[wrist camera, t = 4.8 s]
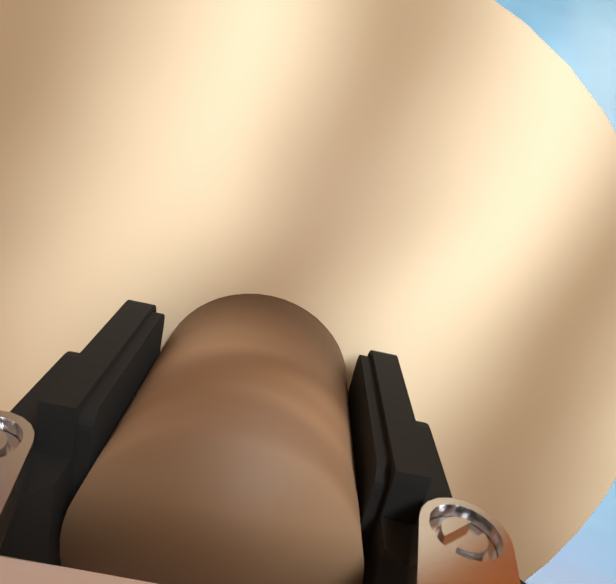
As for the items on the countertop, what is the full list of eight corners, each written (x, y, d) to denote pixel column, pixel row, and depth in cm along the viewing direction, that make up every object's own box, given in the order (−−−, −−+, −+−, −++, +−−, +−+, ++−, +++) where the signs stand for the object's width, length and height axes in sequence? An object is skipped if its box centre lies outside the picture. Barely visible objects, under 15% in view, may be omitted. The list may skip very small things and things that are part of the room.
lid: (790, 55, 11) (1298, 22, 5) (493, 682, 16) (581, 983, 11) (-146, -178, 10) (-760, -528, 4) (-110, 575, 15) (-348, 846, 10)
